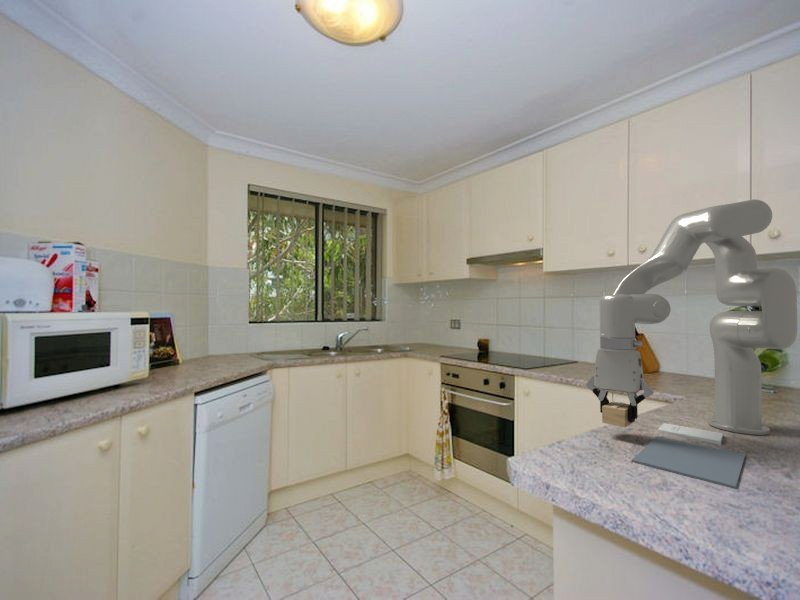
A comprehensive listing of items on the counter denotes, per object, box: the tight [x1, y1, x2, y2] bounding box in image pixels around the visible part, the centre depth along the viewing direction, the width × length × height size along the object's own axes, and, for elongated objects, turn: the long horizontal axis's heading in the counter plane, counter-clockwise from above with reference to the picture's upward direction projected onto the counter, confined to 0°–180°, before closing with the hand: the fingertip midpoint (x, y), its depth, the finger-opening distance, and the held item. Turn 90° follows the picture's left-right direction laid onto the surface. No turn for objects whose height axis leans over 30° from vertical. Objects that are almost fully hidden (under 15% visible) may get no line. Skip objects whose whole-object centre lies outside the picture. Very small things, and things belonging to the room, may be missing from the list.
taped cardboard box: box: [601, 401, 636, 428], centre depth 94 cm, size 7×5×4 cm
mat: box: [631, 436, 746, 489], centre depth 80 cm, size 22×16×1 cm
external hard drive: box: [657, 422, 724, 446], centre depth 97 cm, size 2×8×12 cm
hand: (618, 417), depth 94 cm, fingers closed on taped cardboard box, 5 cm apart
